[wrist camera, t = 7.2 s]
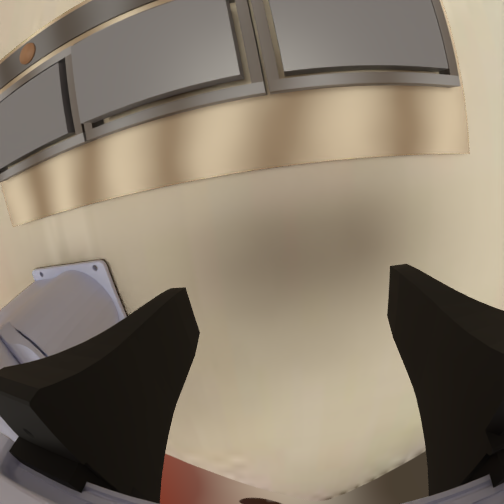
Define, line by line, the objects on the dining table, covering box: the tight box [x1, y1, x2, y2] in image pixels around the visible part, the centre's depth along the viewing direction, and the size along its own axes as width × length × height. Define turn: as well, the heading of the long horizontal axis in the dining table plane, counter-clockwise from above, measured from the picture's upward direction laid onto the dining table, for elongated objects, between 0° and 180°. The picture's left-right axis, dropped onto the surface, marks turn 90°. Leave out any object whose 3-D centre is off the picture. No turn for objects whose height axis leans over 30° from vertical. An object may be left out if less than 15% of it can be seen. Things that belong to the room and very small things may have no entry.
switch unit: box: [0, 0, 470, 227], centre depth 14 cm, size 35×15×3 cm, turn 100°
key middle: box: [71, 0, 244, 124], centre depth 13 cm, size 9×5×2 cm, turn 100°
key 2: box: [0, 63, 75, 170], centre depth 15 cm, size 9×5×2 cm, turn 100°
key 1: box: [268, 0, 449, 76], centre depth 12 cm, size 9×5×2 cm, turn 100°
